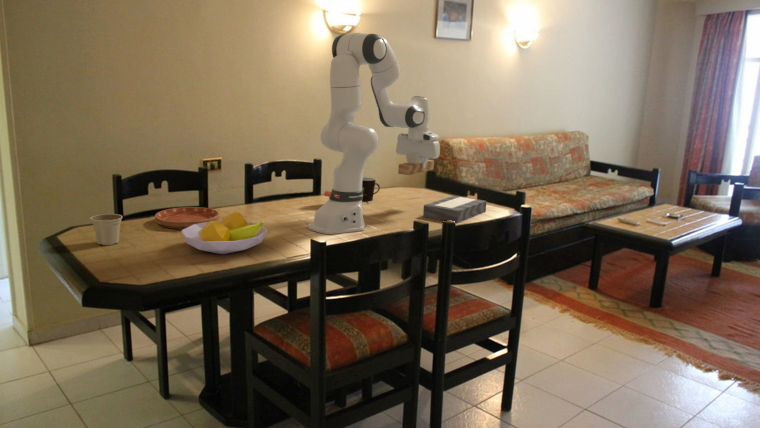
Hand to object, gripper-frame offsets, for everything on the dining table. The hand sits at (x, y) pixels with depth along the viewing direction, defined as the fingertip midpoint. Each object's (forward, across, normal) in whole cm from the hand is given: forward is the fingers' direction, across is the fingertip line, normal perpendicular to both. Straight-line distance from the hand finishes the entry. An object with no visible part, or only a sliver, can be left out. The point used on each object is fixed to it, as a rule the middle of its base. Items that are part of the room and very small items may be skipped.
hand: (416, 166), depth 247 cm
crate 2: (-2, 0, +2) cm, 3 cm away
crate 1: (-2, 0, -2) cm, 3 cm away
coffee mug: (+19, -26, +1) cm, 33 cm away
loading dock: (+19, +18, +5) cm, 27 cm away
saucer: (+20, -52, -80) cm, 98 cm away
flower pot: (+19, -48, -114) cm, 125 cm away
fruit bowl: (+19, -16, -93) cm, 96 cm away
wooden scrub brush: (+2, 0, 0) cm, 2 cm away
